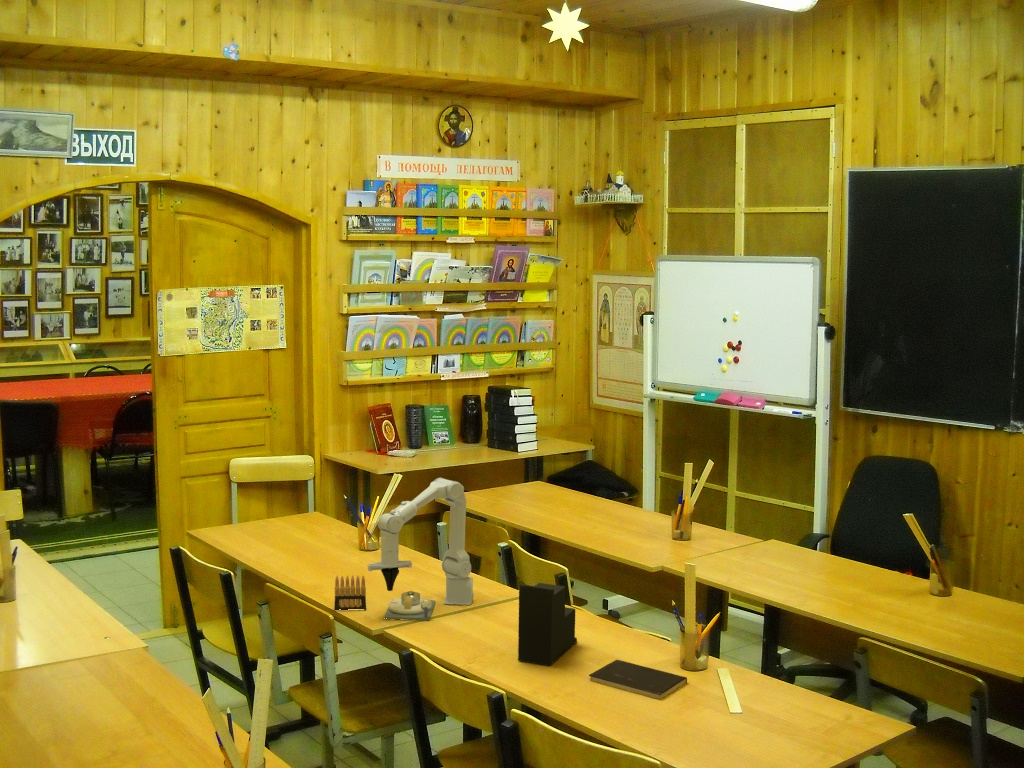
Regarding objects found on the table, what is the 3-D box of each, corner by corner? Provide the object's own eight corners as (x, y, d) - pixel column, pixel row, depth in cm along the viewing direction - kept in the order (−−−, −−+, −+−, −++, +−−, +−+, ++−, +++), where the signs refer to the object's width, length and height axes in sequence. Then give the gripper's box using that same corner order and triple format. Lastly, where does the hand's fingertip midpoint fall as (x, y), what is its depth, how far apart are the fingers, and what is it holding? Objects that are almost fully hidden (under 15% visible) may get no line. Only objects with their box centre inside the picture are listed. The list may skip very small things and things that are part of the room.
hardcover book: (659, 702, 305) (660, 694, 304) (588, 682, 318) (588, 674, 318) (687, 684, 317) (687, 676, 317) (617, 666, 331) (617, 658, 331)
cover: (421, 600, 381) (421, 589, 381) (418, 606, 375) (418, 595, 374) (402, 600, 381) (402, 589, 381) (399, 605, 375) (399, 594, 374)
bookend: (545, 637, 354) (546, 565, 351) (577, 642, 349) (579, 569, 347) (517, 661, 332) (518, 585, 330) (550, 667, 328) (552, 589, 325)
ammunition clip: (334, 611, 378) (334, 576, 376) (334, 609, 379) (334, 574, 378) (366, 610, 379) (365, 575, 377) (366, 608, 380) (366, 574, 379)
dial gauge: (431, 619, 370) (431, 599, 369) (431, 620, 369) (431, 600, 368) (420, 619, 370) (420, 599, 369) (420, 620, 369) (420, 600, 368)
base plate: (435, 603, 387) (435, 600, 387) (428, 620, 368) (428, 618, 368) (392, 602, 388) (392, 599, 388) (383, 619, 369) (383, 616, 369)
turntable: (433, 601, 385) (433, 586, 384) (428, 614, 370) (428, 598, 370) (392, 600, 385) (392, 585, 385) (385, 613, 371) (385, 597, 370)
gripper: (408, 545, 375) (407, 584, 376) (365, 548, 370) (365, 588, 371) (413, 550, 368) (413, 590, 370) (370, 554, 363) (370, 594, 364)
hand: (389, 590), depth 370 cm, fingers closed
